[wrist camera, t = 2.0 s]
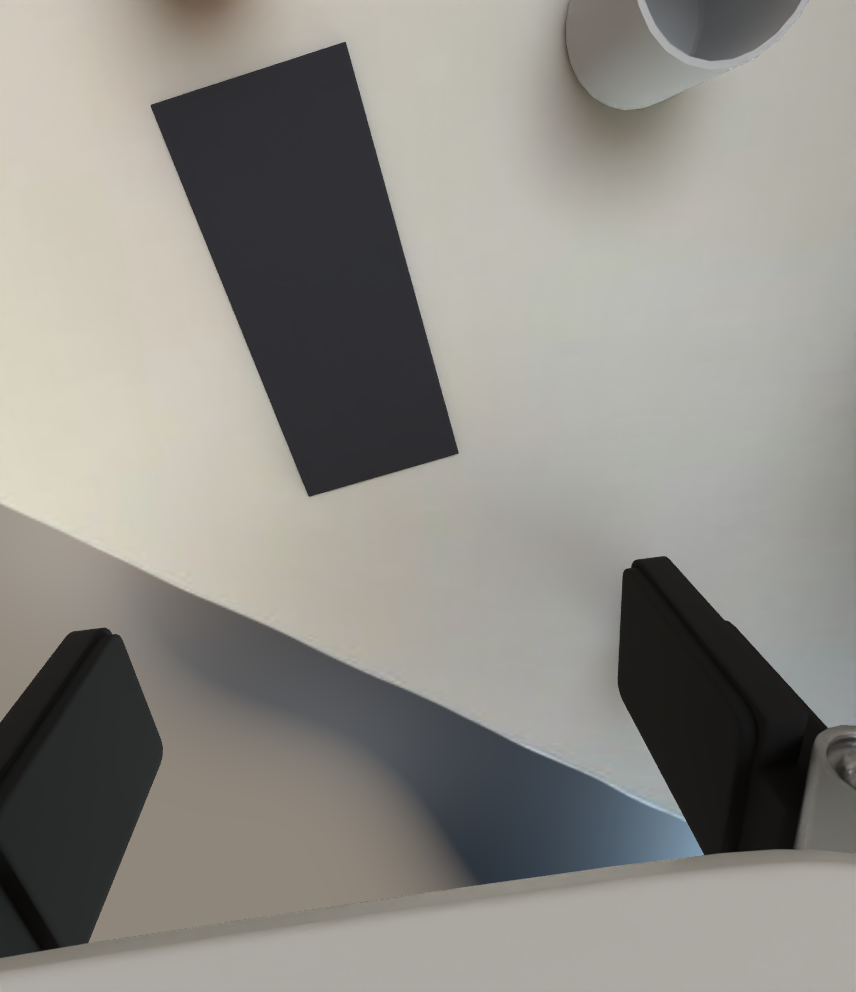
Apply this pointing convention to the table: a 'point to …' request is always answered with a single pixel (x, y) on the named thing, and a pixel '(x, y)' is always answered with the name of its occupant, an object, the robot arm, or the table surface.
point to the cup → (667, 43)
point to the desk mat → (312, 264)
